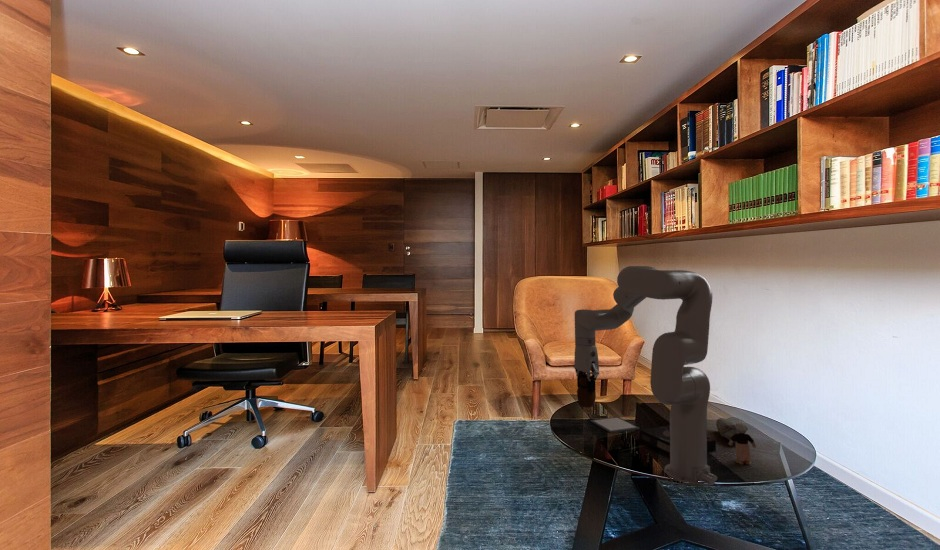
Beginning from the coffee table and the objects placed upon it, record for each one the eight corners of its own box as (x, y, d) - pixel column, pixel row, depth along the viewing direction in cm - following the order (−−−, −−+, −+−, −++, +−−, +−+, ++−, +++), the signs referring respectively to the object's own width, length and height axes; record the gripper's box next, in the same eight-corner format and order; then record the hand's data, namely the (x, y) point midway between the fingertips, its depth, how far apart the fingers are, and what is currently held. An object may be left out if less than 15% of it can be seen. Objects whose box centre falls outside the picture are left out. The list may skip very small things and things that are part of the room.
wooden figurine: (575, 407, 157) (574, 367, 157) (579, 403, 162) (578, 364, 162) (594, 409, 154) (593, 368, 154) (597, 405, 159) (596, 366, 159)
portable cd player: (639, 441, 147) (639, 430, 147) (675, 435, 153) (675, 424, 153) (676, 460, 132) (676, 447, 132) (715, 452, 138) (715, 440, 138)
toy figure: (749, 459, 131) (748, 419, 131) (758, 465, 127) (757, 423, 127) (725, 460, 131) (725, 419, 131) (733, 465, 127) (733, 424, 127)
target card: (639, 429, 158) (639, 427, 158) (610, 433, 154) (610, 431, 154) (617, 418, 170) (617, 416, 170) (590, 421, 166) (590, 420, 166)
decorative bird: (727, 432, 155) (727, 412, 155) (747, 449, 139) (746, 427, 139) (711, 431, 156) (711, 411, 156) (729, 448, 140) (729, 426, 140)
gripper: (607, 344, 151) (608, 393, 151) (581, 338, 168) (582, 383, 167) (589, 345, 149) (590, 395, 149) (564, 339, 165) (565, 385, 165)
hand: (586, 388), depth 158 cm, fingers closed on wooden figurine, 6 cm apart
